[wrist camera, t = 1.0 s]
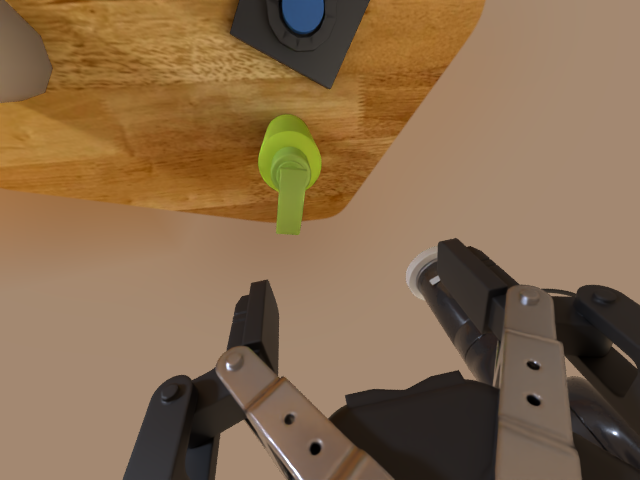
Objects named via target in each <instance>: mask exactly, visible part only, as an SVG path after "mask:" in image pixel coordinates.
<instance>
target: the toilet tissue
mask: <svg viewBox="0 0 640 480" xmlns="http://www.w3.org/2000/svg"><path fill="white" fill-rule="evenodd" d="M51 72H52V66H51V63H50V60H49V58H48V55H47V52H46V50H45V47H44V44H43V41H42V39H41V36H40V35H39V34H38V33H37V32H36V31H35V30H34V29H33V28H32V27H31V26H30V25H29V24H28V23H27V22H26V21H25V20H24V19H23V18H22V17H21V16H20V15H19V14H18V13H17V12H16V11H15V10H14V9H13V8H12V7H11V6H10V5H9V4H8V3H7V2H6V1H5V0H0V103H4V102H15V101H23V100H25V99H28V98H31V97H34V96H37V95H39V94H42V93H45V91H46V88H47V84H48V81H49V78H50V75H51Z"/></svg>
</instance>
